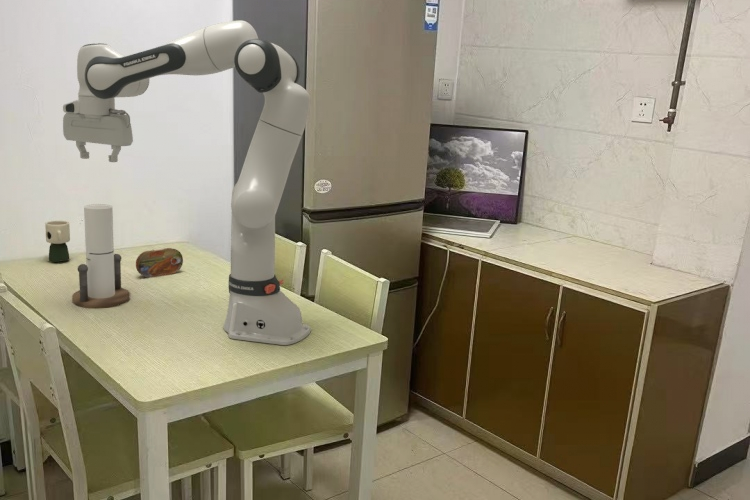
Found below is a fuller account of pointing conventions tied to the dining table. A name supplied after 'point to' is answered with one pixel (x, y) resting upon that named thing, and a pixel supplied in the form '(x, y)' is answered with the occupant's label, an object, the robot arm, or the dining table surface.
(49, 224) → the character mug
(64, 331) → the dining table surface
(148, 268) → the tin
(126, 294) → the roll holder
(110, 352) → the dining table surface
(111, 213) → the cylindrical container
